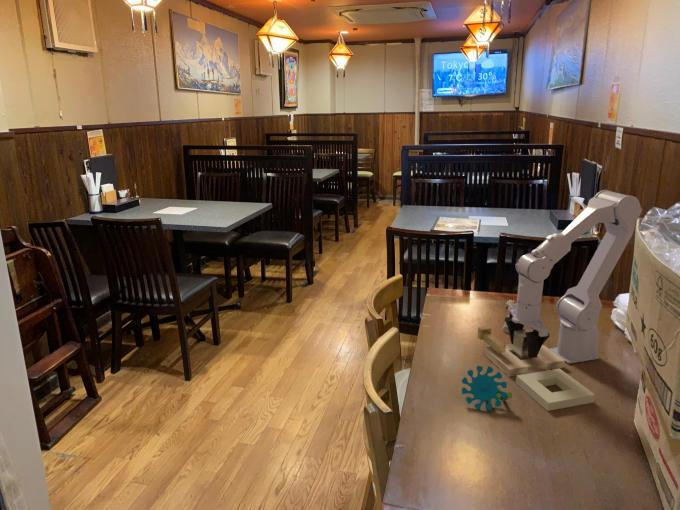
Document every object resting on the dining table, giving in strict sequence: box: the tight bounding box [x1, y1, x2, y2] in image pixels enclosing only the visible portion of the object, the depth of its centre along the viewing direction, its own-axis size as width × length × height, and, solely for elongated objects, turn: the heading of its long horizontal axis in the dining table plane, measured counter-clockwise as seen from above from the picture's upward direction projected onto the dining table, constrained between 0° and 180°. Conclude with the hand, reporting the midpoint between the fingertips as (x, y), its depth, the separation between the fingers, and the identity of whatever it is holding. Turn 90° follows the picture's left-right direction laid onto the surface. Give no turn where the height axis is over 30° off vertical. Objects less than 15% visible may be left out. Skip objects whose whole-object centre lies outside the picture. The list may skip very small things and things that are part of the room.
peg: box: [512, 328, 535, 360], centre depth 130 cm, size 4×4×8 cm
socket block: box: [483, 343, 566, 377], centre depth 131 cm, size 16×12×2 cm
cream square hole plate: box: [515, 368, 596, 412], centre depth 117 cm, size 12×12×2 cm
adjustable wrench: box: [502, 299, 517, 334], centre depth 159 cm, size 25×6×2 cm, turn 150°
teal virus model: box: [461, 365, 513, 411], centre depth 114 cm, size 11×6×10 cm
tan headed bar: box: [477, 325, 506, 353], centre depth 133 cm, size 3×10×3 cm, turn 15°
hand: (523, 350), depth 131 cm, fingers open, 7 cm apart
